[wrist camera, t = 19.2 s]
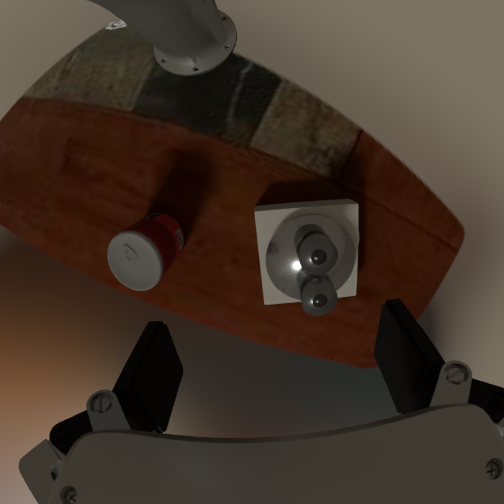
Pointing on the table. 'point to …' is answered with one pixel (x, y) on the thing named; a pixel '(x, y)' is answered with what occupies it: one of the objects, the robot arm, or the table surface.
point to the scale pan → (286, 259)
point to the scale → (278, 214)
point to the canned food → (145, 251)
